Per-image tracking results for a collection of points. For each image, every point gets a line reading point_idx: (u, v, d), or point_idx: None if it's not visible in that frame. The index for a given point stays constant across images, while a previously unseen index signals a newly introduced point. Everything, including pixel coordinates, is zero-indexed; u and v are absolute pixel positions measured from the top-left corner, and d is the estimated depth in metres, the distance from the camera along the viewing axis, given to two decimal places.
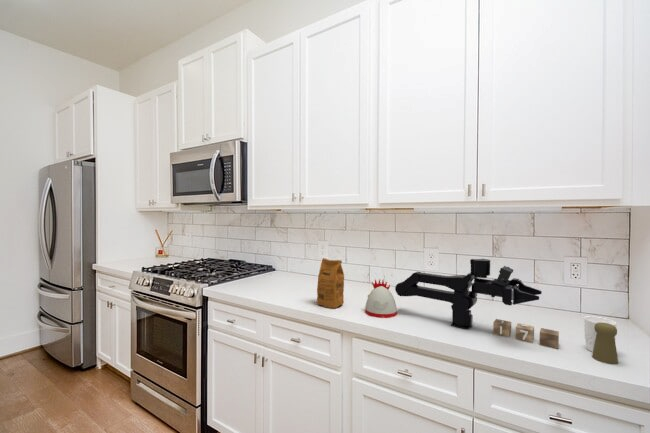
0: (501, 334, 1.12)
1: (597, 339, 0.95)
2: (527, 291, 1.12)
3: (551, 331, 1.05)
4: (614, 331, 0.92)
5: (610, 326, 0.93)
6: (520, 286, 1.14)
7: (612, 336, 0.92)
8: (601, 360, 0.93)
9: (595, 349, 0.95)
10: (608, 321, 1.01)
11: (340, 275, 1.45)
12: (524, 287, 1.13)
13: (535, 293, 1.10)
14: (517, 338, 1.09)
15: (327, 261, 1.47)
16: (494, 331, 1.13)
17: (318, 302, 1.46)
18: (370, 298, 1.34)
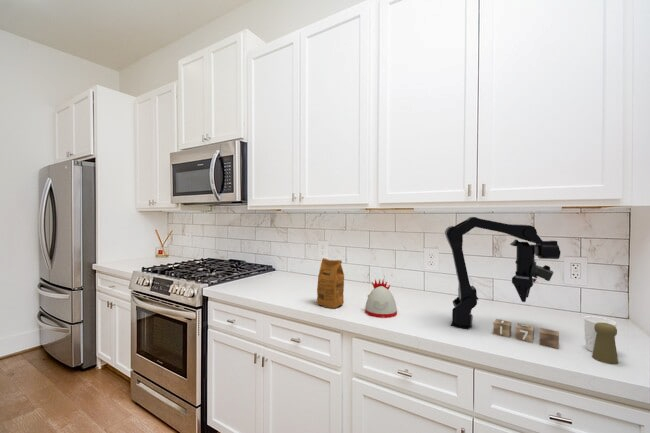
0: (501, 334, 1.12)
1: (597, 339, 0.95)
2: None
3: (551, 331, 1.05)
4: (614, 331, 0.92)
5: (610, 326, 0.93)
6: None
7: (612, 336, 0.92)
8: (601, 360, 0.93)
9: (595, 349, 0.95)
10: (608, 321, 1.01)
11: (340, 275, 1.45)
12: None
13: None
14: (517, 338, 1.09)
15: (327, 261, 1.47)
16: (494, 331, 1.13)
17: (318, 302, 1.46)
18: (370, 298, 1.34)
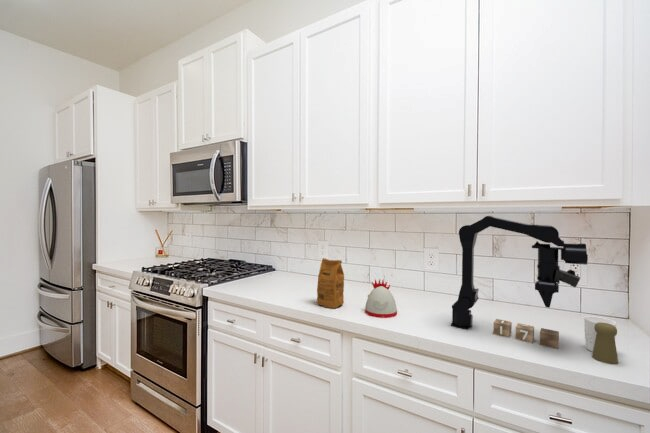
0: (501, 334, 1.12)
1: (597, 339, 0.95)
2: None
3: (551, 331, 1.05)
4: (614, 331, 0.92)
5: (610, 326, 0.93)
6: None
7: (612, 336, 0.92)
8: (601, 360, 0.93)
9: (595, 349, 0.95)
10: (608, 321, 1.01)
11: (340, 275, 1.45)
12: None
13: None
14: (517, 338, 1.09)
15: (327, 261, 1.47)
16: (494, 331, 1.13)
17: (318, 302, 1.46)
18: (370, 298, 1.34)
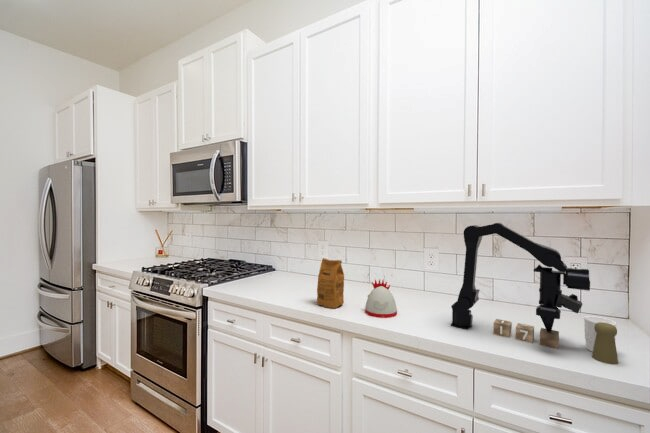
0: (501, 334, 1.12)
1: (597, 339, 0.95)
2: None
3: (551, 331, 1.05)
4: (614, 331, 0.92)
5: (610, 326, 0.93)
6: None
7: (612, 336, 0.92)
8: (601, 360, 0.93)
9: (595, 349, 0.95)
10: (608, 321, 1.01)
11: (340, 275, 1.45)
12: None
13: None
14: (517, 338, 1.09)
15: (327, 261, 1.47)
16: (494, 331, 1.13)
17: (318, 302, 1.46)
18: (370, 298, 1.34)
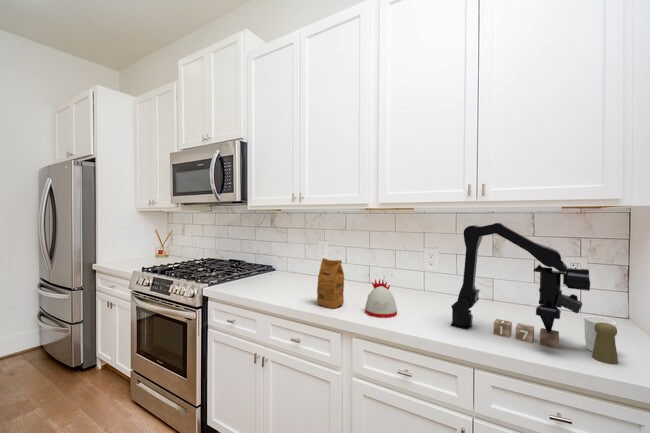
0: (501, 334, 1.12)
1: (597, 339, 0.95)
2: None
3: (551, 331, 1.05)
4: (614, 331, 0.92)
5: (610, 326, 0.93)
6: None
7: (612, 336, 0.92)
8: (601, 360, 0.93)
9: (595, 349, 0.95)
10: (608, 321, 1.01)
11: (340, 275, 1.45)
12: None
13: None
14: (517, 338, 1.09)
15: (327, 261, 1.47)
16: (494, 331, 1.13)
17: (318, 302, 1.46)
18: (370, 298, 1.34)
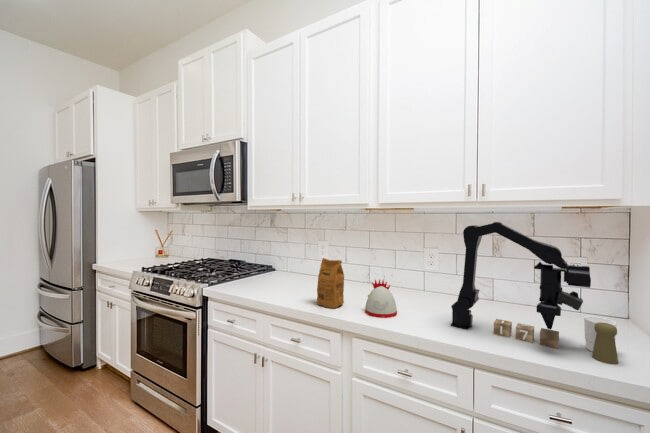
0: (501, 334, 1.12)
1: (597, 339, 0.95)
2: None
3: (551, 331, 1.05)
4: (614, 331, 0.92)
5: (610, 326, 0.93)
6: None
7: (612, 336, 0.92)
8: (601, 360, 0.93)
9: (595, 349, 0.95)
10: (608, 321, 1.01)
11: (340, 275, 1.45)
12: None
13: None
14: (517, 338, 1.09)
15: (327, 261, 1.47)
16: (494, 331, 1.13)
17: (318, 302, 1.46)
18: (370, 298, 1.34)
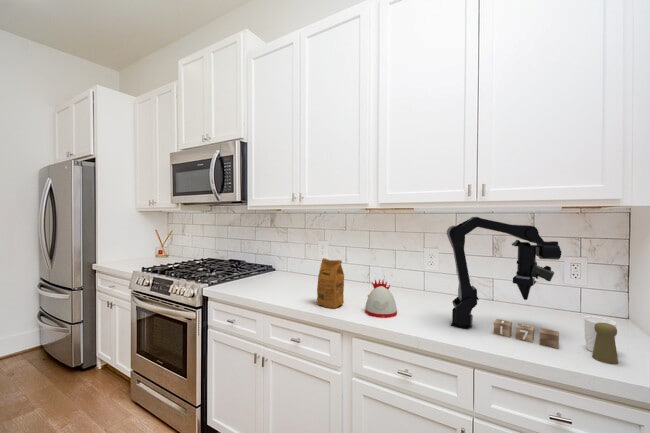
0: (501, 334, 1.12)
1: (597, 339, 0.95)
2: None
3: (551, 331, 1.05)
4: (614, 331, 0.92)
5: (610, 326, 0.93)
6: None
7: (612, 336, 0.92)
8: (601, 360, 0.93)
9: (595, 349, 0.95)
10: (608, 321, 1.01)
11: (340, 275, 1.45)
12: None
13: None
14: (517, 338, 1.09)
15: (327, 261, 1.47)
16: (494, 331, 1.13)
17: (318, 302, 1.46)
18: (370, 298, 1.34)
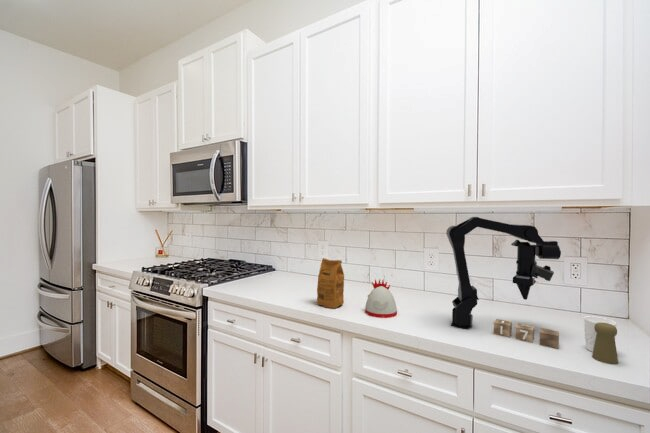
0: (501, 334, 1.12)
1: (597, 339, 0.95)
2: None
3: (551, 331, 1.05)
4: (614, 331, 0.92)
5: (610, 326, 0.93)
6: None
7: (612, 336, 0.92)
8: (601, 360, 0.93)
9: (595, 349, 0.95)
10: (608, 321, 1.01)
11: (340, 275, 1.45)
12: None
13: None
14: (517, 338, 1.09)
15: (327, 261, 1.47)
16: (494, 331, 1.13)
17: (318, 302, 1.46)
18: (370, 298, 1.34)
